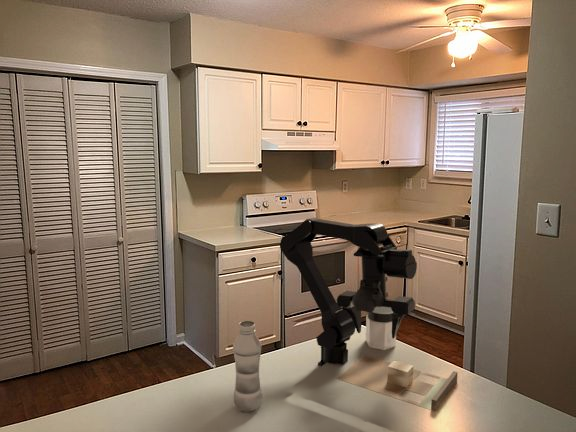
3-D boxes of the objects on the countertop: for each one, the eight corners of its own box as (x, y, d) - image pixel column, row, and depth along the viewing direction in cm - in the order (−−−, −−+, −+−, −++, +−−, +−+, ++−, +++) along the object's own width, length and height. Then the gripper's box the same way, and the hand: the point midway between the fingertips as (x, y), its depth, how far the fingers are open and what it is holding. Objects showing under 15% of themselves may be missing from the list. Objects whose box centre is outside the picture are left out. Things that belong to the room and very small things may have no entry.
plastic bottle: (240, 418, 103) (239, 331, 100) (229, 403, 109) (227, 321, 106) (267, 411, 106) (266, 326, 103) (255, 397, 112) (254, 316, 109)
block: (387, 381, 116) (387, 366, 116) (393, 375, 120) (394, 360, 119) (406, 387, 113) (407, 372, 113) (412, 380, 117) (413, 365, 116)
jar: (379, 357, 133) (380, 316, 131) (359, 346, 140) (360, 307, 138) (401, 349, 138) (403, 310, 136) (381, 340, 145) (382, 302, 143)
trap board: (336, 384, 118) (336, 369, 118) (365, 360, 131) (365, 346, 130) (435, 417, 104) (436, 400, 103) (456, 387, 117) (457, 372, 116)
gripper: (325, 278, 116) (328, 340, 117) (399, 285, 106) (401, 352, 107) (345, 269, 125) (347, 326, 126) (414, 274, 115) (416, 336, 116)
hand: (376, 335), depth 119 cm, fingers open, 9 cm apart
